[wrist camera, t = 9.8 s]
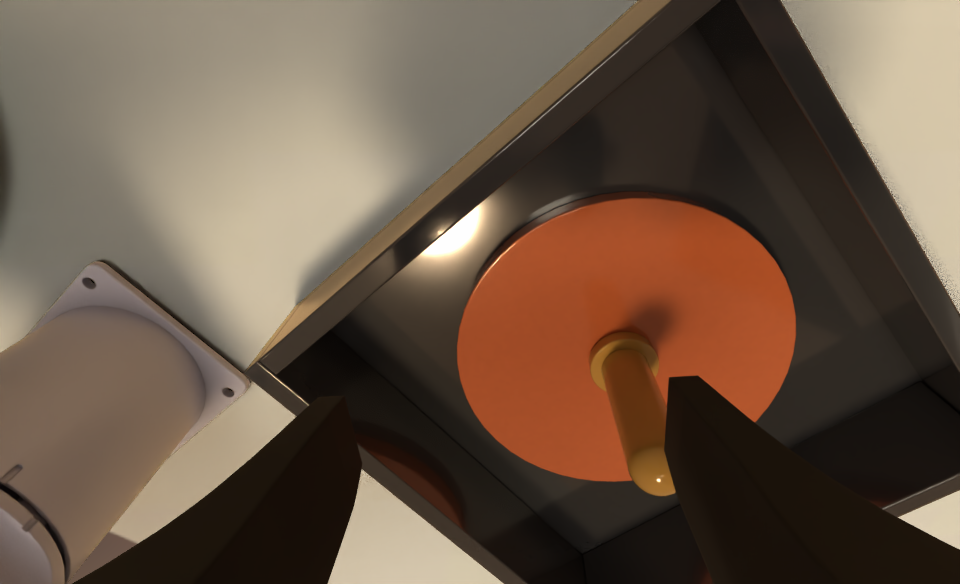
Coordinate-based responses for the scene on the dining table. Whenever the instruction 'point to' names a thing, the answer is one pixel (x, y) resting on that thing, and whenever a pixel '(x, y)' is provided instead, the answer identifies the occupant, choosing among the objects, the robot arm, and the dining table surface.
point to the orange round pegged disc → (620, 331)
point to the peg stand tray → (663, 169)
